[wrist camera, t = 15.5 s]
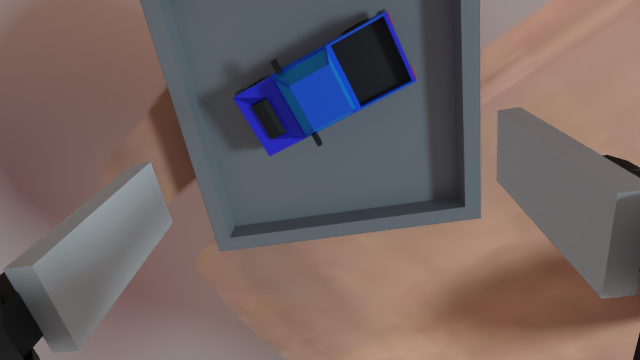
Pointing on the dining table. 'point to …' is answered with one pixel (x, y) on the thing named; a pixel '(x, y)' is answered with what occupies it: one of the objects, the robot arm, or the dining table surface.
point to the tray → (337, 139)
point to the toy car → (326, 84)
